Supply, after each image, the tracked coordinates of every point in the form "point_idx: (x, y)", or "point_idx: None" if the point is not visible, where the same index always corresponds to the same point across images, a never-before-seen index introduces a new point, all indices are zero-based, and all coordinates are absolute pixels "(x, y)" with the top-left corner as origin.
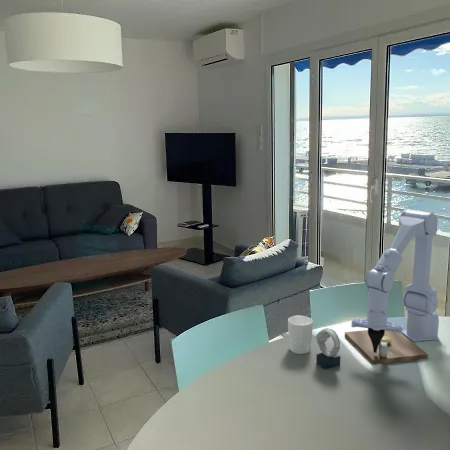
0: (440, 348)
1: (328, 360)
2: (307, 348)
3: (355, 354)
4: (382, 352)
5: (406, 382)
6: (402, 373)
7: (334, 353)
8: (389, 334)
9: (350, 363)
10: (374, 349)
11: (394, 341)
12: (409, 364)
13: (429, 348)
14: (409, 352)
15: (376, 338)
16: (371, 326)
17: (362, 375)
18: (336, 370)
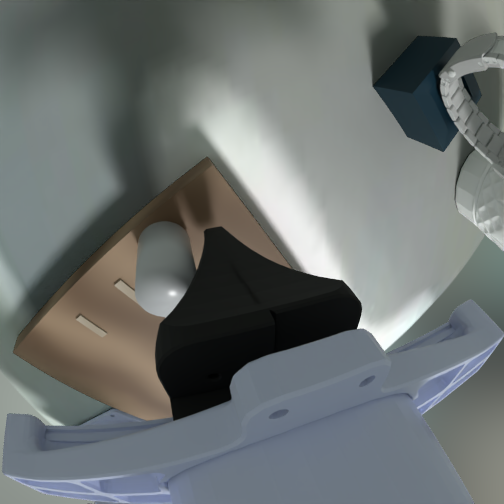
0: (36, 399)
1: (443, 47)
2: (478, 168)
3: (309, 229)
4: (161, 239)
5: (3, 58)
6: (31, 143)
7: (459, 50)
8: None
9: (329, 121)
10: (223, 234)
11: (161, 386)
12: (38, 260)
13: (56, 392)
14: (66, 339)
15: (236, 288)
16: (386, 383)
17: (251, 4)
18: (381, 32)
